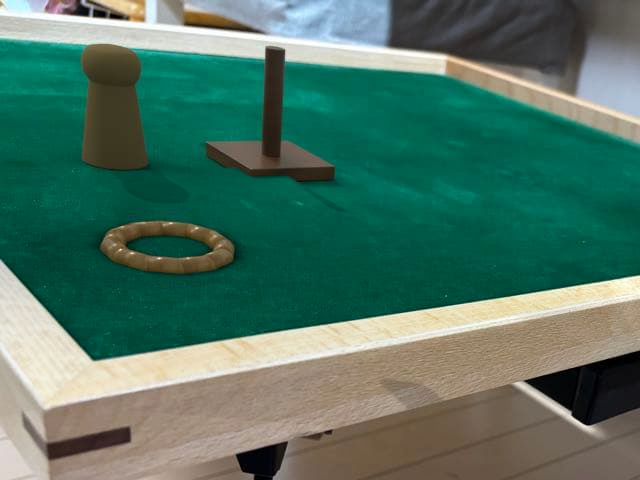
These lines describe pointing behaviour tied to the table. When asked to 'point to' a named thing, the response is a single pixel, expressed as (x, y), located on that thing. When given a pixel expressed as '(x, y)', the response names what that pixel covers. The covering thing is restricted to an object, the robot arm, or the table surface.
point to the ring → (120, 254)
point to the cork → (112, 108)
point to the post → (271, 137)
